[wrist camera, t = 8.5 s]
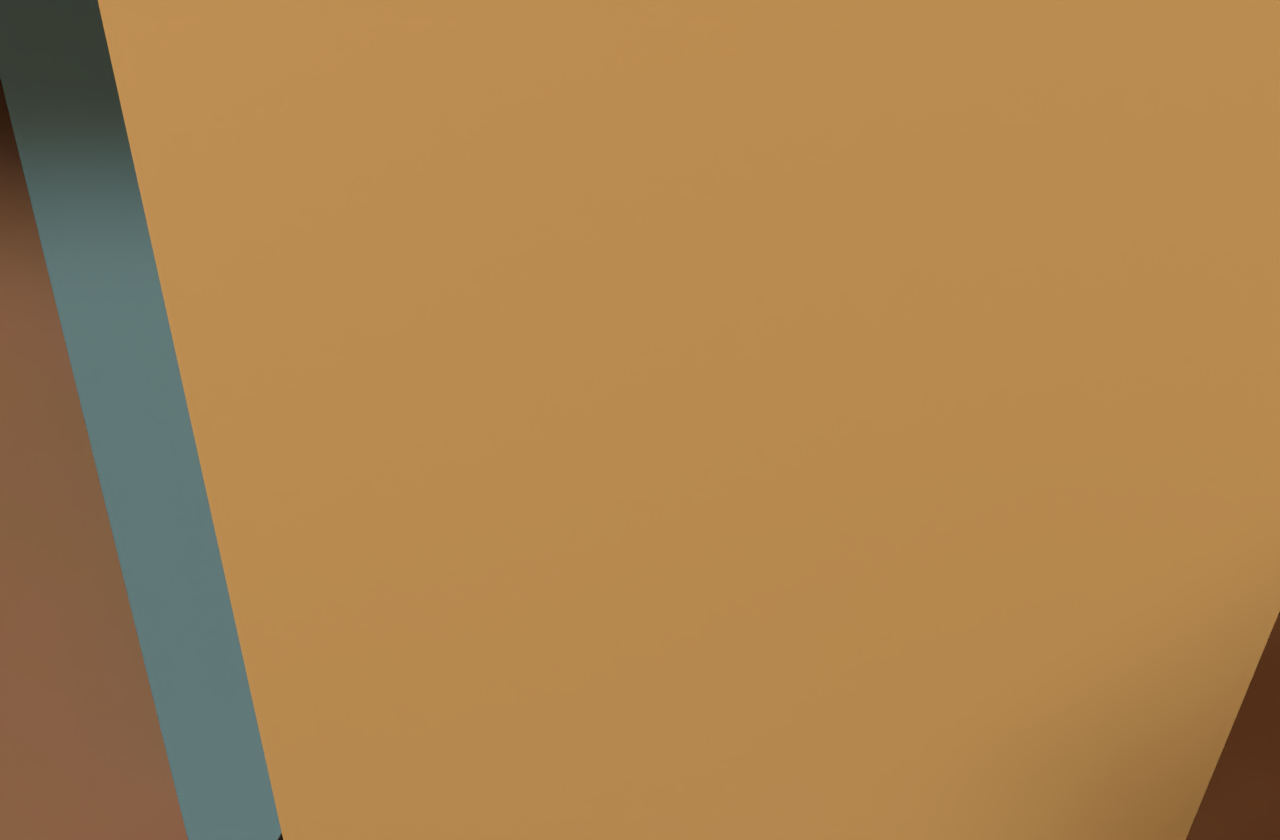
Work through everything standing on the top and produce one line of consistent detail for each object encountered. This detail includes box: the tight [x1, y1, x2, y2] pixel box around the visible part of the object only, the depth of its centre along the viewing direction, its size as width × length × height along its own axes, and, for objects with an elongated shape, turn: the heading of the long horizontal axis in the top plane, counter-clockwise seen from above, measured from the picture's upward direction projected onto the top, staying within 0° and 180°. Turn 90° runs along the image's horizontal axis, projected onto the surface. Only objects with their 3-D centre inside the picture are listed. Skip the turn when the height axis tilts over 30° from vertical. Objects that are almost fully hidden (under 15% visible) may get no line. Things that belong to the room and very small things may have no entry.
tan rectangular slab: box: [98, 0, 1280, 840], centre depth 7 cm, size 13×4×4 cm, turn 179°
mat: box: [0, 0, 281, 840], centre depth 10 cm, size 16×9×1 cm, turn 178°
